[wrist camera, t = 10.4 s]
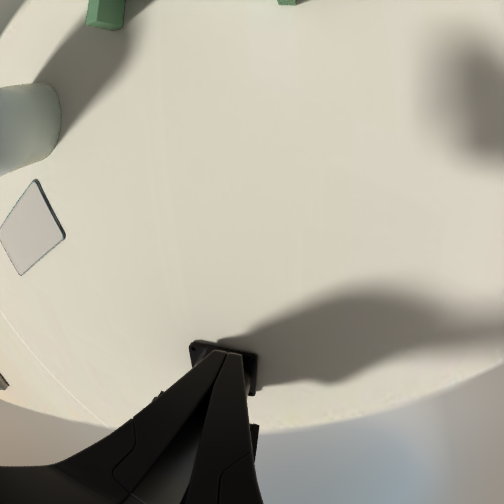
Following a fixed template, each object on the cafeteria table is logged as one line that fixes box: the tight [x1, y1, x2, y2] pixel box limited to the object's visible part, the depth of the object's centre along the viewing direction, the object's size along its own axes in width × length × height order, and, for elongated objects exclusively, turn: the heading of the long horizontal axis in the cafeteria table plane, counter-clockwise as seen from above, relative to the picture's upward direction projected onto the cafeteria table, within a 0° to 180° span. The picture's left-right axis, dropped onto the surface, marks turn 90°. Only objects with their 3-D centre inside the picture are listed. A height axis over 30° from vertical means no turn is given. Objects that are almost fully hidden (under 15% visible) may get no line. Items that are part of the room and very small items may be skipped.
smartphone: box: [0, 180, 65, 276], centre depth 25 cm, size 7×1×15 cm
